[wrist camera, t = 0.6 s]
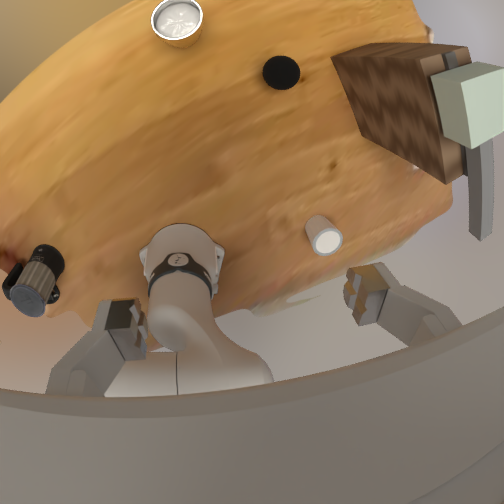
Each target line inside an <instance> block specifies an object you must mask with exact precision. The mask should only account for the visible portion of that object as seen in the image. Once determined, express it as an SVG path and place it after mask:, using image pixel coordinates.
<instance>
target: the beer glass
mask: <svg viewBox="0 0 504 504" xmlns="http://www.w3.org/2000/svg"><path fill="white" fill-rule="evenodd" d="M203 25H204V15H203V12H202V9H201V7H200V5H199V4H198V3H197V2H196V1H195V0H164V1H162V2H161V3H160V4H159V5H158V6H157V7H156V8H155V9H154V11H153V13H152V16H151V26H152V28H153V30H154V32H155V34H156V35H157V37H158V38H159V39H160V40H162V41H163V42H165V43H167V44H170V45H171V46H173V47H176V48H186V47H189V46H191V45H193V44H194V43H195V42H196V41H197V40H198V38H199V36H200V33H201V31H202V28H203Z"/></svg>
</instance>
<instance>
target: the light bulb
mask: <svg viewBox="0 0 504 504" xmlns="http://www.w3.org/2000/svg"><path fill="white" fill-rule="evenodd" d="M263 77H264V80H265V81H266V83H267V84H268V85H269V86H271V87H272V88H274V89H278V90H286V89H289V88H292V87H293V86H294V85H295V84H296V83H297V82H298V80H299V78H300V69H299V66H298V65H297V63H296V62H295V61H294V60H293V59H291V58H289V57H287V56H275V57H272V58H271V59H269V60H268V61H267V62H266V63H265V65H264V67H263Z"/></svg>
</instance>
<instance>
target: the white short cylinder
mask: <svg viewBox="0 0 504 504" xmlns="http://www.w3.org/2000/svg"><path fill="white" fill-rule="evenodd" d="M305 231H306V233H307V235H308V238H309V240H310V242H311V245H312V247H313V249H314V251H315V253H317V254H318V255H322V256H327V255H331V254H332V253H334V252H336V251H337V250H338V249H339V248H340V246H341V244H342V240H343V236H342V234H341V232H340V231H339V230H338V229H337V228H336V227H335V226H334V225H333V224H332V223H331V222H330V221H329V220H328V219H327V218H325V217H324V216H322V215H316V216H313V217H311V218H310V219H309V220H308V221H307V223H306V225H305Z"/></svg>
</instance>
